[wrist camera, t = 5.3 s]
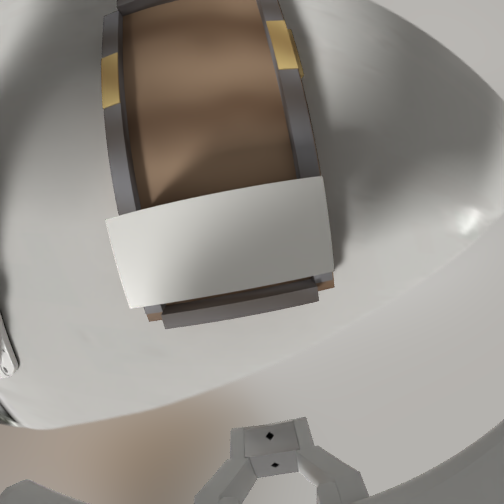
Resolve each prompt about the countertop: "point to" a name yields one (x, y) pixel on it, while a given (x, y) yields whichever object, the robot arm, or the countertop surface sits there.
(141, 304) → the fader tab
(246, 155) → the wooden serving tray
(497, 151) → the countertop surface
